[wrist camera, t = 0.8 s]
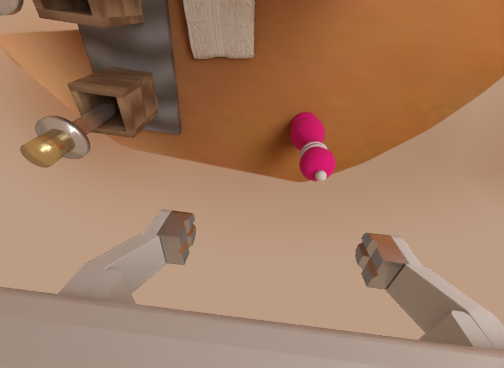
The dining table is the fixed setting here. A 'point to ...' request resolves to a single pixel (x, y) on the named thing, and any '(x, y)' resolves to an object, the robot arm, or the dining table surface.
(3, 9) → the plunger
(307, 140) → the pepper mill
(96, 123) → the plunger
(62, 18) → the grey holder stand
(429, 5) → the dining table surface
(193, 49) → the washcloth
